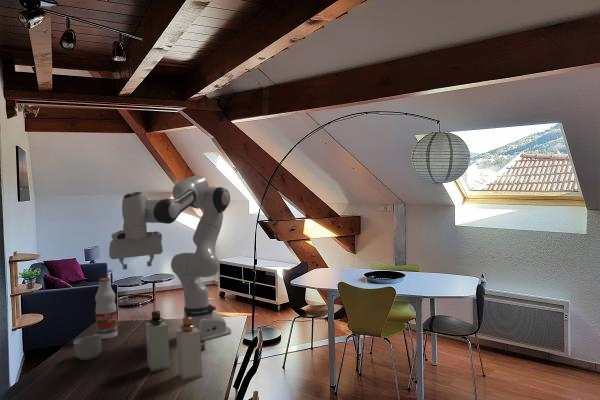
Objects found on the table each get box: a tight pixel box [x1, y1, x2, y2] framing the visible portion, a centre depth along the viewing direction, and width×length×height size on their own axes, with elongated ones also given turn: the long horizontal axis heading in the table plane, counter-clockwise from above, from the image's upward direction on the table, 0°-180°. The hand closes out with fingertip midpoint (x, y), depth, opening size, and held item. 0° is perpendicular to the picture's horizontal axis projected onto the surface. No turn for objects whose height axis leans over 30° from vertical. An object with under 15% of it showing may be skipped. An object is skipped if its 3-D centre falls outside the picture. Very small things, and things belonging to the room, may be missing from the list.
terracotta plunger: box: [180, 316, 195, 332], centre depth 182 cm, size 5×5×18 cm
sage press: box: [145, 320, 171, 373], centre depth 192 cm, size 7×7×17 cm
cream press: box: [175, 328, 203, 382], centre depth 182 cm, size 7×7×17 cm
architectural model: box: [200, 333, 207, 351], centre depth 209 cm, size 3×7×7 cm, turn 120°
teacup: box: [72, 334, 103, 361], centre depth 208 cm, size 14×11×8 cm
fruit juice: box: [94, 277, 119, 340], centre depth 236 cm, size 9×9×28 cm
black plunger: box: [148, 310, 164, 325], centre depth 192 cm, size 5×5×18 cm
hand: (137, 267), depth 196 cm, fingers open, 8 cm apart
